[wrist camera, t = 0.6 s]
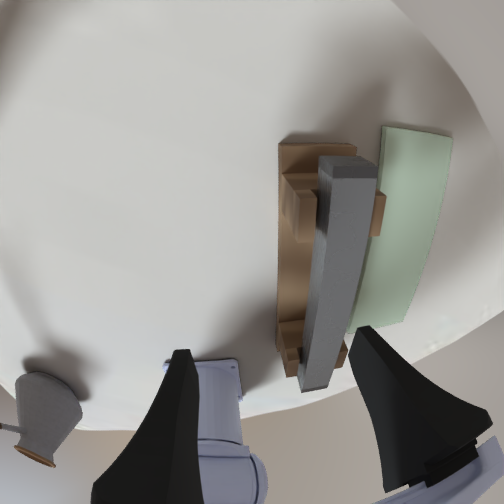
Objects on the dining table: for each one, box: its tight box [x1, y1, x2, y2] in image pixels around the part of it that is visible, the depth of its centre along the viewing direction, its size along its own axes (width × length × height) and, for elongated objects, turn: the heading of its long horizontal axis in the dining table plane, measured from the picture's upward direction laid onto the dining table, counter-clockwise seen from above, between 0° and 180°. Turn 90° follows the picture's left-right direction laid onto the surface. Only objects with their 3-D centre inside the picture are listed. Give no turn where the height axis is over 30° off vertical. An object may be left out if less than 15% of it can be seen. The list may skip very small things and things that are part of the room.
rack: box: [276, 143, 387, 378], centre depth 20 cm, size 19×5×5 cm, turn 2°
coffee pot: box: [0, 372, 83, 468], centre depth 21 cm, size 21×12×15 cm, turn 6°
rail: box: [297, 156, 378, 393], centre depth 18 cm, size 19×2×2 cm, turn 2°
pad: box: [346, 126, 453, 334], centre depth 22 cm, size 20×7×1 cm, turn 2°
